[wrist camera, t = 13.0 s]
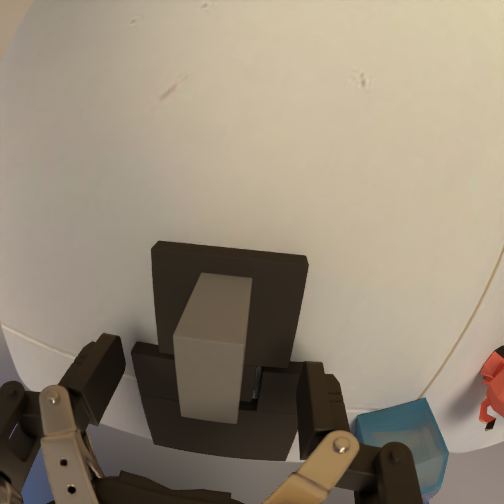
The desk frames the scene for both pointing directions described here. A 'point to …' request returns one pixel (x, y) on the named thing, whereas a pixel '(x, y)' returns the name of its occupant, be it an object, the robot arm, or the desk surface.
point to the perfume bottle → (410, 440)
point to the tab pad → (266, 297)
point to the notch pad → (217, 433)
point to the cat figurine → (493, 387)
